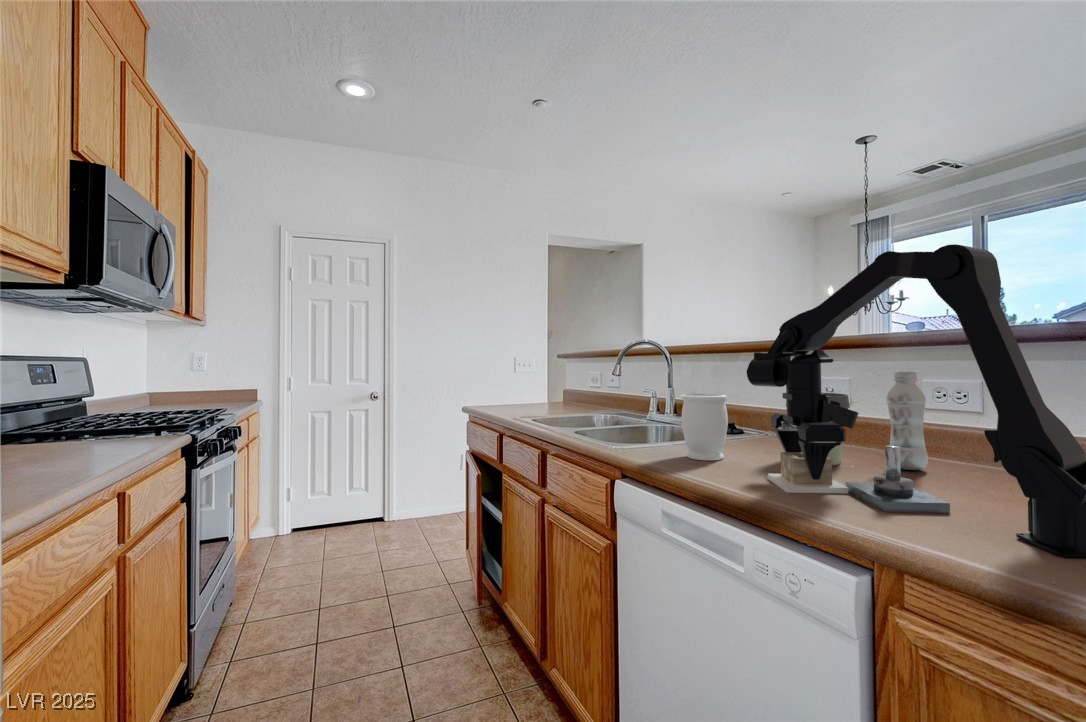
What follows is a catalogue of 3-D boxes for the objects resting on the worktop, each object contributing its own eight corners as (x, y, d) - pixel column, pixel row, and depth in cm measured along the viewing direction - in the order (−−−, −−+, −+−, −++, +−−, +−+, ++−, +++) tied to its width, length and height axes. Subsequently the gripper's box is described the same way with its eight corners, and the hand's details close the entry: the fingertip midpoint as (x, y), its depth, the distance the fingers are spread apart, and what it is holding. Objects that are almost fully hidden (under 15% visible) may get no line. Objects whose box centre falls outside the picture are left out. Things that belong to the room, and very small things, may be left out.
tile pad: (848, 493, 83) (848, 487, 83) (786, 492, 84) (786, 486, 84) (822, 479, 93) (822, 473, 93) (767, 478, 94) (767, 473, 94)
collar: (832, 485, 85) (831, 459, 85) (793, 484, 86) (793, 459, 86) (816, 476, 91) (816, 452, 91) (781, 475, 92) (780, 452, 92)
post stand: (950, 513, 72) (948, 454, 72) (884, 511, 73) (883, 453, 73) (901, 491, 84) (900, 440, 84) (845, 490, 85) (844, 440, 85)
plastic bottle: (912, 474, 95) (910, 372, 95) (879, 467, 101) (877, 372, 101) (936, 471, 97) (934, 371, 96) (903, 464, 103) (901, 371, 103)
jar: (673, 455, 119) (672, 394, 118) (709, 452, 122) (708, 392, 122) (700, 463, 108) (698, 397, 108) (738, 460, 111) (737, 395, 111)
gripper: (879, 390, 78) (881, 487, 78) (827, 384, 97) (829, 462, 97) (806, 391, 80) (808, 486, 80) (769, 385, 98) (770, 462, 98)
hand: (805, 473), depth 88 cm, fingers open, 9 cm apart
